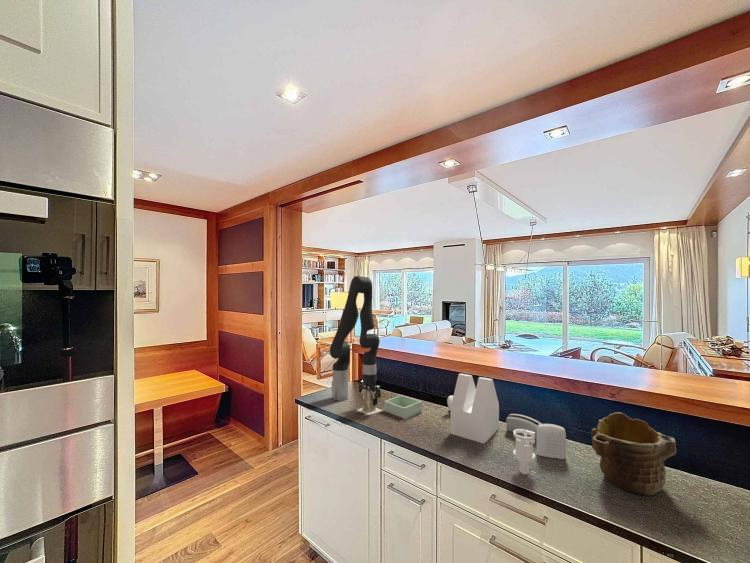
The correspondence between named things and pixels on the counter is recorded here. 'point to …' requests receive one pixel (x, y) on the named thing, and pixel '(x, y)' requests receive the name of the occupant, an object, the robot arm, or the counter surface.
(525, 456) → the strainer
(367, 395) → the strut
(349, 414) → the counter surface
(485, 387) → the white notched block
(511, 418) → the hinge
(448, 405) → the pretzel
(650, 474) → the ceramic vessel
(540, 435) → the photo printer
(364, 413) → the stud base
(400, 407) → the bin
